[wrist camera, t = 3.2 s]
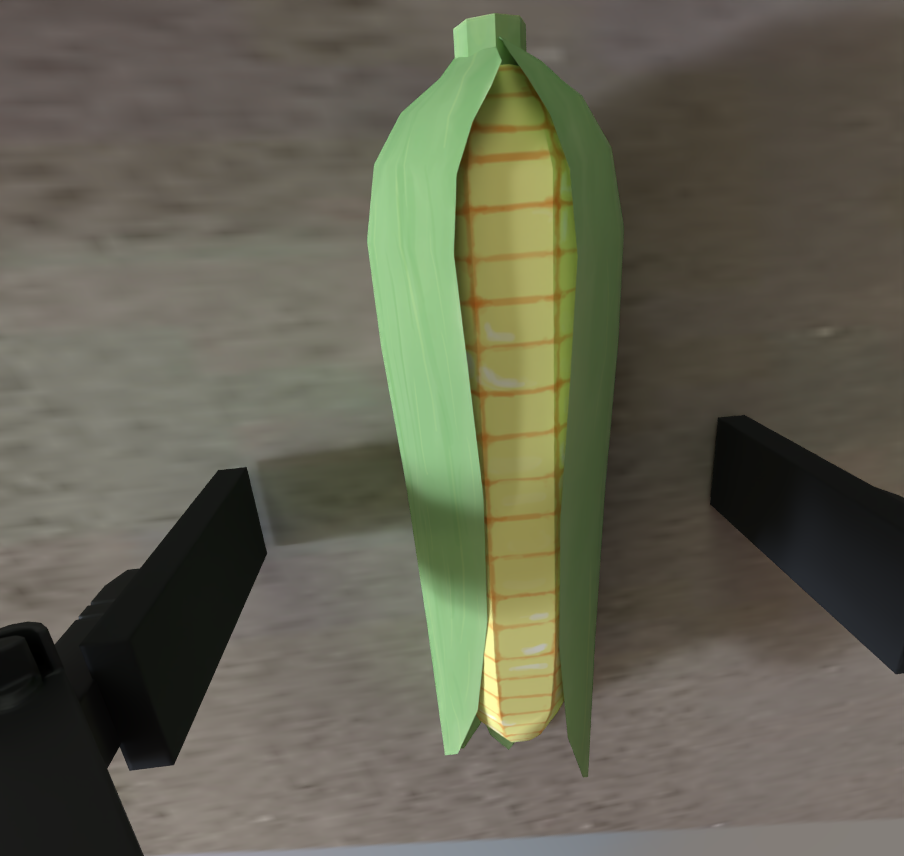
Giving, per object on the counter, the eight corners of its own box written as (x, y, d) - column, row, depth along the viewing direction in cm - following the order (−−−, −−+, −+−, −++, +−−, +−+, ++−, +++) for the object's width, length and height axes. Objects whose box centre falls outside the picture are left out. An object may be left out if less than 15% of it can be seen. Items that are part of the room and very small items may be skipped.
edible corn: (591, 60, 12) (691, -34, 8) (580, 729, 19) (629, 875, 15) (357, 74, 12) (324, -13, 7) (433, 745, 19) (440, 898, 14)
